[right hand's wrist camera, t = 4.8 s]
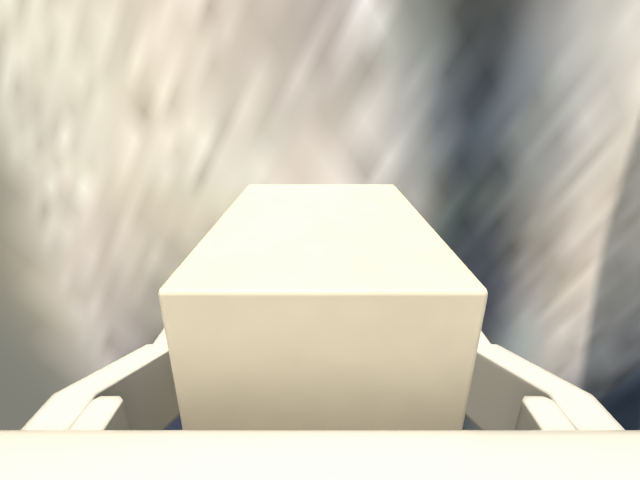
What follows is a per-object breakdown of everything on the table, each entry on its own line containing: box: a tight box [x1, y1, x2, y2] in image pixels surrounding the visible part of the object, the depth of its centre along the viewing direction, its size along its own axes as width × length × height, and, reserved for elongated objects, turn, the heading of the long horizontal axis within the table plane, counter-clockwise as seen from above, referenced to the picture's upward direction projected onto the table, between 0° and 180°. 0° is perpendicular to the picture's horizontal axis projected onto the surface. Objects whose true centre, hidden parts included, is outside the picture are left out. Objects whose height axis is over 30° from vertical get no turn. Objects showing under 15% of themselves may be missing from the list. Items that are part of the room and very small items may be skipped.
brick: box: [158, 185, 488, 430], centre depth 10 cm, size 5×7×7 cm
